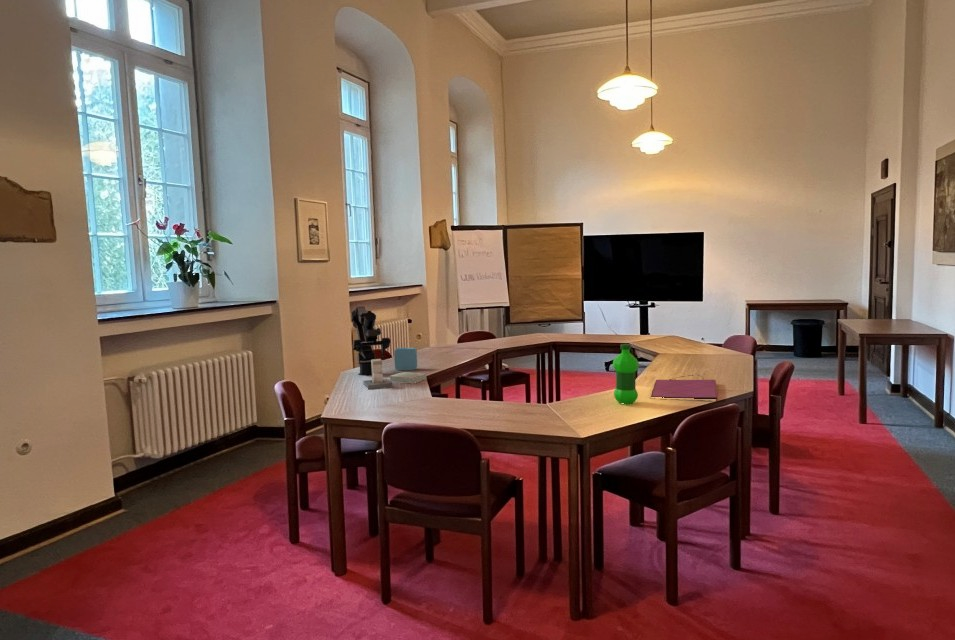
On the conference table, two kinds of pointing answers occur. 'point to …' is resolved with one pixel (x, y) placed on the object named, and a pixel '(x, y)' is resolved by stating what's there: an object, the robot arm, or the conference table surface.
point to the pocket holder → (377, 384)
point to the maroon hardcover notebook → (685, 389)
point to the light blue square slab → (405, 358)
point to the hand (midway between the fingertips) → (374, 357)
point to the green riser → (408, 377)
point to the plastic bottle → (625, 375)
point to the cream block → (377, 371)
